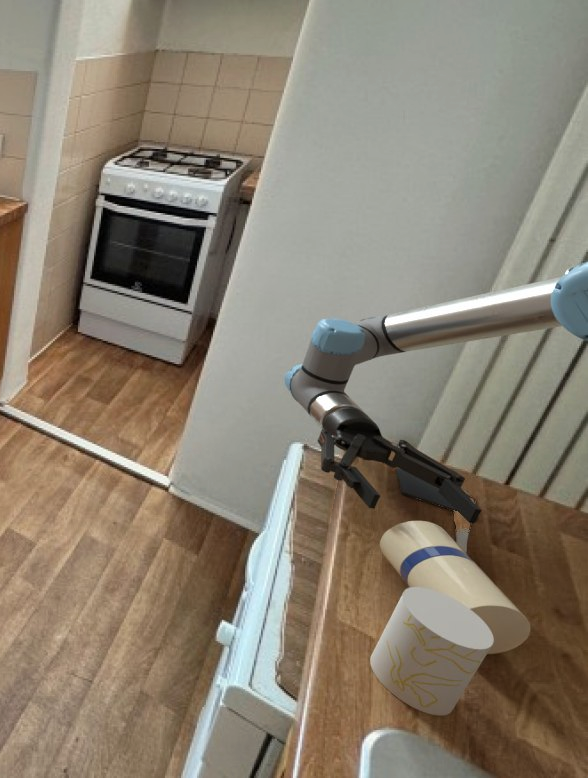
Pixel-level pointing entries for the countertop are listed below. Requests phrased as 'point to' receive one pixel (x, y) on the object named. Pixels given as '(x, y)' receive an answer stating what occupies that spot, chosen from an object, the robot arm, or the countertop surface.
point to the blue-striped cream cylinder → (453, 578)
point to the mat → (421, 489)
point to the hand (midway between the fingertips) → (424, 509)
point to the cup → (430, 650)
